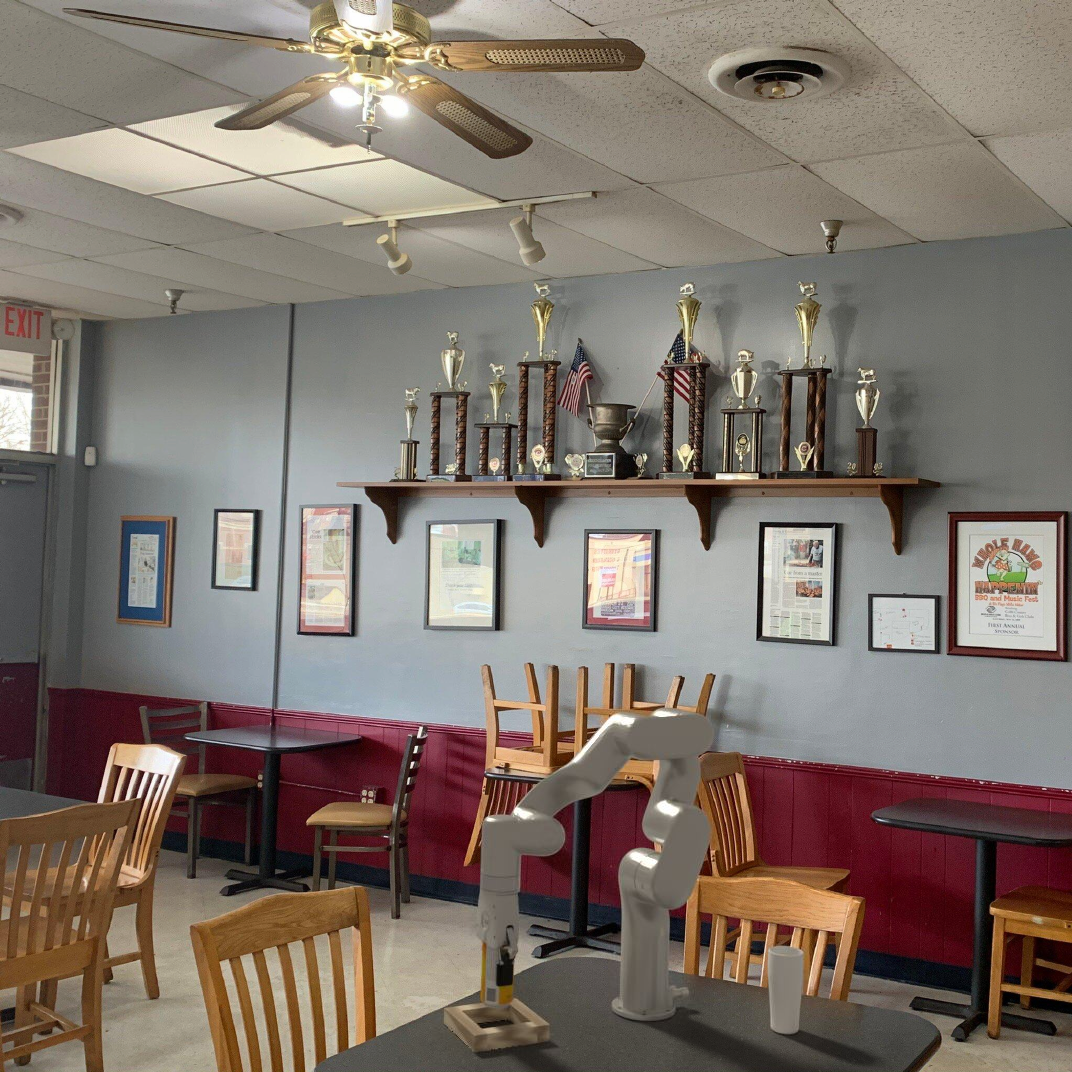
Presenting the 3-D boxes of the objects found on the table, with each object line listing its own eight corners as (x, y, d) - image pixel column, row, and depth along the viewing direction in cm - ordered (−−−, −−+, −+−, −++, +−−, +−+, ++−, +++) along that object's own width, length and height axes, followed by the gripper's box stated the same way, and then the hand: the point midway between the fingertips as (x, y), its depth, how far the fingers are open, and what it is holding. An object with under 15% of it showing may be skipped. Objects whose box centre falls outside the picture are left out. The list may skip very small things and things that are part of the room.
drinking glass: (806, 1027, 231) (807, 948, 231) (798, 1039, 224) (799, 958, 225) (771, 1021, 233) (772, 943, 234) (762, 1032, 227) (764, 952, 228)
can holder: (515, 1013, 234) (516, 998, 234) (549, 1041, 220) (549, 1024, 220) (443, 1024, 227) (444, 1008, 227) (474, 1052, 214) (474, 1035, 214)
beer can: (515, 999, 226) (518, 919, 227) (508, 1010, 220) (511, 928, 221) (484, 996, 228) (487, 916, 228) (476, 1007, 222) (479, 925, 222)
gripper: (464, 873, 231) (461, 968, 230) (500, 895, 216) (497, 997, 215) (499, 870, 234) (496, 964, 234) (538, 892, 219) (534, 992, 218)
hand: (497, 978), depth 224 cm, fingers closed on beer can, 6 cm apart
